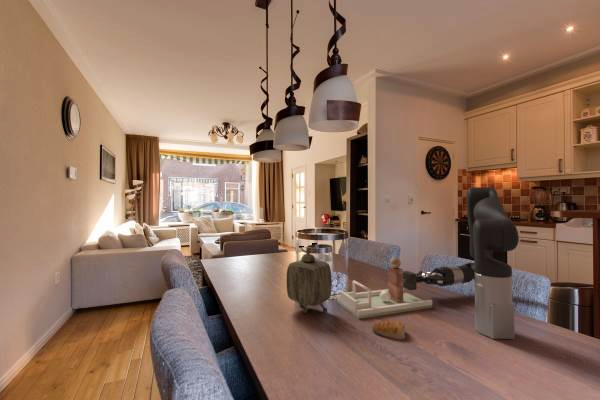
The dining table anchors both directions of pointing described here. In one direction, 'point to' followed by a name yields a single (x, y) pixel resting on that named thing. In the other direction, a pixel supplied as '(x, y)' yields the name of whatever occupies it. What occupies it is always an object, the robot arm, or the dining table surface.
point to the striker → (399, 280)
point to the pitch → (387, 304)
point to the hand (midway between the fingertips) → (412, 279)
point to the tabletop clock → (309, 281)
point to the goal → (350, 298)
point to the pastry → (390, 329)
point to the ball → (385, 296)
